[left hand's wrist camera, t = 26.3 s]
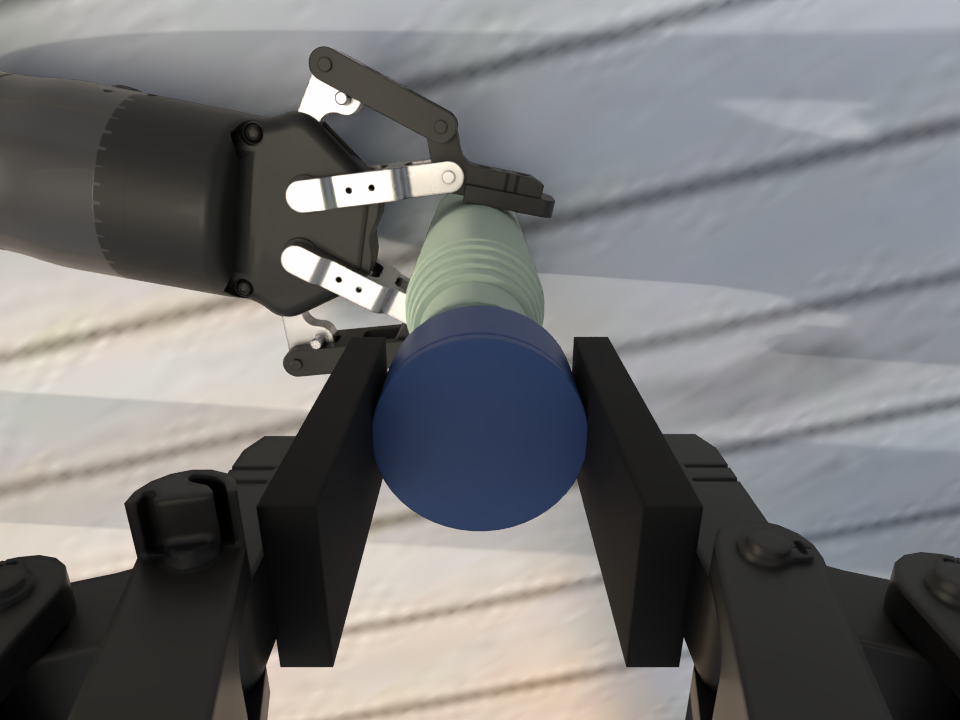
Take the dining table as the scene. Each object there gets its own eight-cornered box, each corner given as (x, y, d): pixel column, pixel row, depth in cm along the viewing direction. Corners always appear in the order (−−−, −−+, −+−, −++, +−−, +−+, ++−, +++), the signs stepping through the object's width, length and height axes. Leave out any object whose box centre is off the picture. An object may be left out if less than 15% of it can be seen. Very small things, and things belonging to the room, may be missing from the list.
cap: (453, 266, 13) (448, 295, 11) (610, 371, 14) (633, 415, 12) (352, 415, 15) (331, 466, 13) (502, 503, 16) (506, 564, 14)
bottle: (528, 252, 34) (588, 422, 16) (451, 280, 34) (423, 475, 16) (501, 171, 32) (532, 256, 14) (420, 201, 33) (351, 321, 15)
